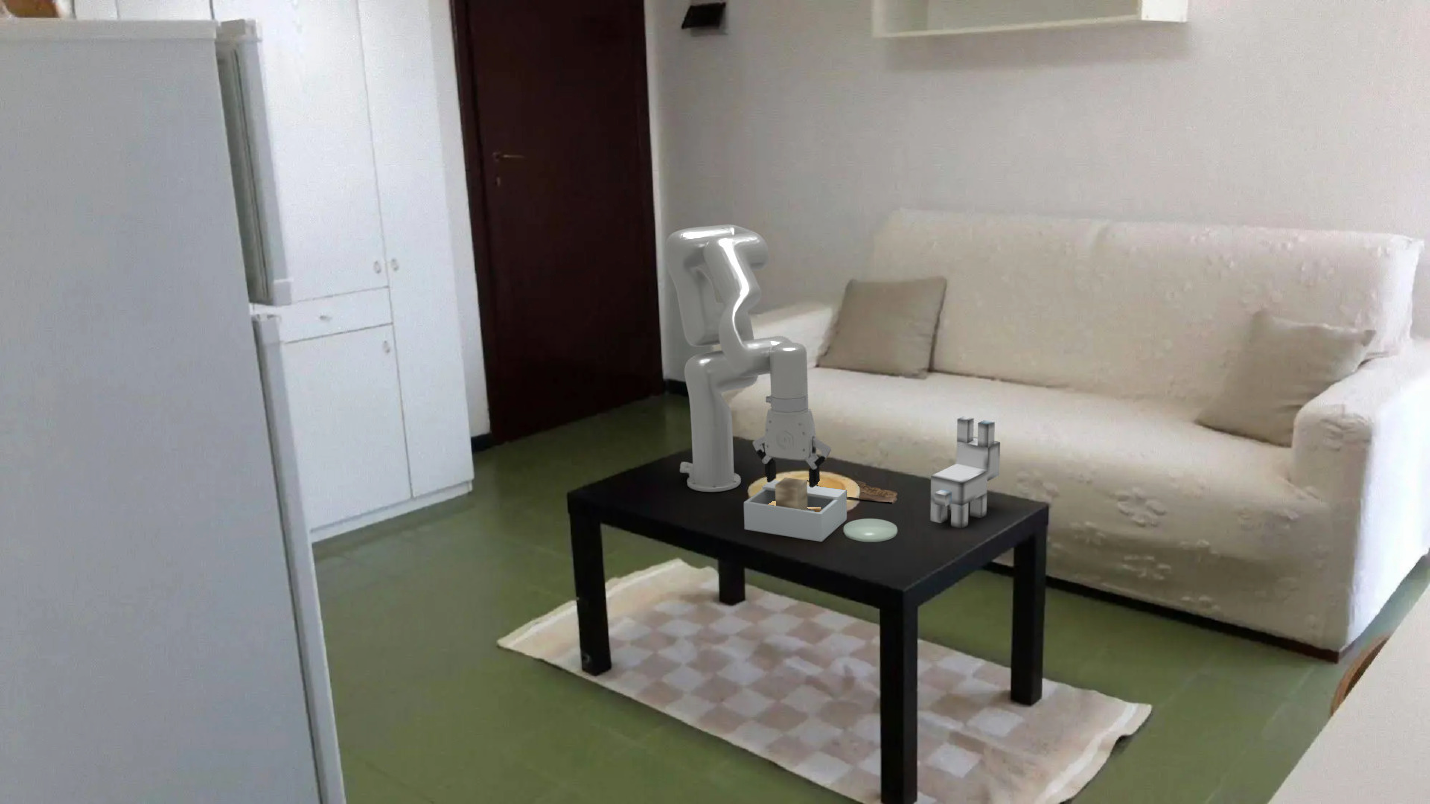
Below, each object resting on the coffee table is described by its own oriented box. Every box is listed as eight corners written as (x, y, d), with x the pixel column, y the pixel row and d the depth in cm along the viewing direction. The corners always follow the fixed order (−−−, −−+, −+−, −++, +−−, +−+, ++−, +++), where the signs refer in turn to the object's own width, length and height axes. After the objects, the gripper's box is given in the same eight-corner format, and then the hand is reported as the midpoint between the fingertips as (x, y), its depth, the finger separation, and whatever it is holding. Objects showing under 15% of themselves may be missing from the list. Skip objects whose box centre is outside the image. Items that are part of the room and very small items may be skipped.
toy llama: (924, 523, 241) (925, 433, 236) (967, 500, 254) (969, 413, 248) (955, 532, 236) (956, 439, 231) (998, 507, 249) (1000, 419, 243)
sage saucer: (835, 537, 236) (835, 533, 236) (855, 519, 245) (855, 515, 245) (886, 545, 231) (886, 541, 231) (904, 526, 240) (904, 523, 240)
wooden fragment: (909, 498, 257) (909, 493, 257) (878, 511, 250) (878, 506, 250) (824, 473, 276) (824, 469, 276) (792, 485, 269) (792, 481, 269)
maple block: (775, 516, 241) (775, 484, 239) (786, 508, 245) (785, 477, 243) (797, 519, 238) (797, 487, 236) (807, 511, 242) (807, 480, 241)
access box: (744, 529, 242) (743, 499, 241) (772, 507, 254) (771, 479, 252) (821, 541, 234) (821, 511, 232) (846, 519, 246) (846, 490, 244)
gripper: (743, 404, 236) (747, 483, 240) (821, 411, 228) (823, 493, 232) (760, 396, 242) (763, 473, 246) (836, 402, 234) (838, 482, 238)
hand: (792, 482), depth 239 cm, fingers open, 9 cm apart
